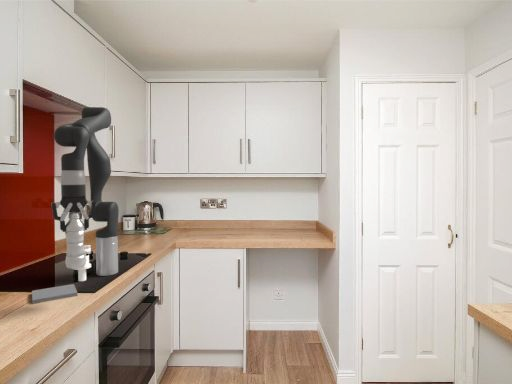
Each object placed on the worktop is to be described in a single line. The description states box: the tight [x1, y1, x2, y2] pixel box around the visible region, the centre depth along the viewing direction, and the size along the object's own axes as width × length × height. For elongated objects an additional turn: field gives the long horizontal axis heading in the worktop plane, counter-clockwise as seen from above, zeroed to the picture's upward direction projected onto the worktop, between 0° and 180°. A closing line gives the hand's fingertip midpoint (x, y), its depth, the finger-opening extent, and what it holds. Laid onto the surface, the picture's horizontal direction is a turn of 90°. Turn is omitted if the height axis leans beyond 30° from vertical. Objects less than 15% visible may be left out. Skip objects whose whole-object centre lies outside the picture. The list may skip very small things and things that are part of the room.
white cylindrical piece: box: [73, 244, 92, 282], centre depth 141 cm, size 7×7×15 cm
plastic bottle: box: [64, 212, 86, 270], centre depth 116 cm, size 6×7×20 cm
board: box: [31, 283, 78, 304], centre depth 124 cm, size 12×14×1 cm
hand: (74, 230), depth 116 cm, fingers closed on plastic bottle, 6 cm apart
